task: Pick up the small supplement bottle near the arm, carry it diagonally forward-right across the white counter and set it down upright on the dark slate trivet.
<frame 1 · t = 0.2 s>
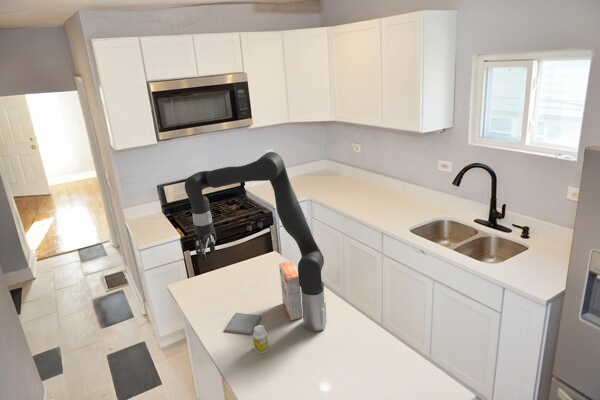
hand: (208, 256, 173), 29 cm above the table, fingers open, 8 cm apart
cracker box: (292, 311, 182), on the table
supplement bottle: (261, 349, 160), on the table
trivet: (243, 324, 175), on the table
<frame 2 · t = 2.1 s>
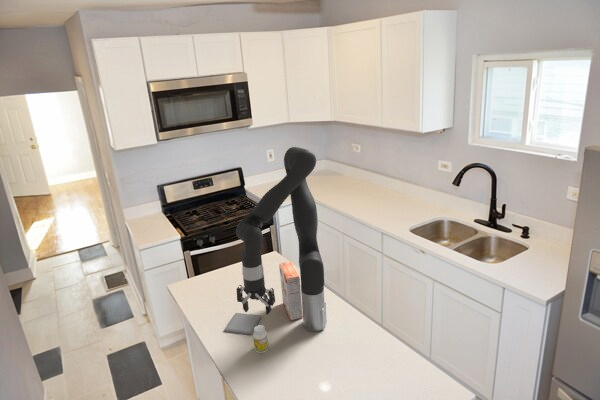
hand: (257, 312, 154), 17 cm above the table, fingers open, 8 cm apart
nothing on the table moved.
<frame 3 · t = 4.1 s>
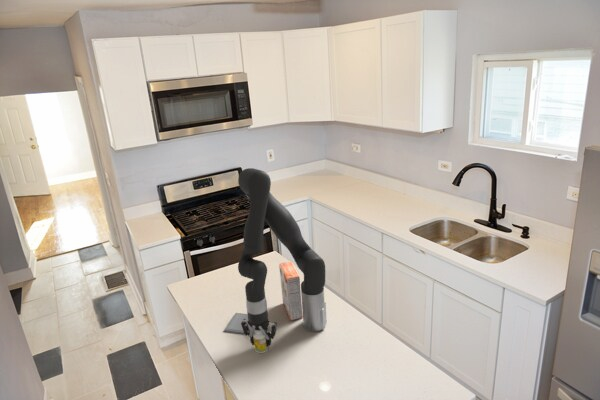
hand: (261, 344, 159), 2 cm above the table, fingers closed on supplement bottle, 5 cm apart
supplement bottle: (261, 349, 160), on the table, touching gripper
everything else where it was.
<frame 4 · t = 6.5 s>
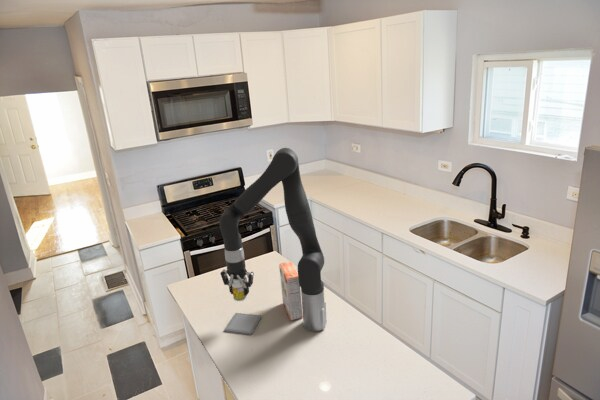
hand: (239, 293, 170), 15 cm above the table, fingers closed on supplement bottle, 5 cm apart
supplement bottle: (240, 298, 170), point 13 cm above the table, touching gripper
everything else where it was.
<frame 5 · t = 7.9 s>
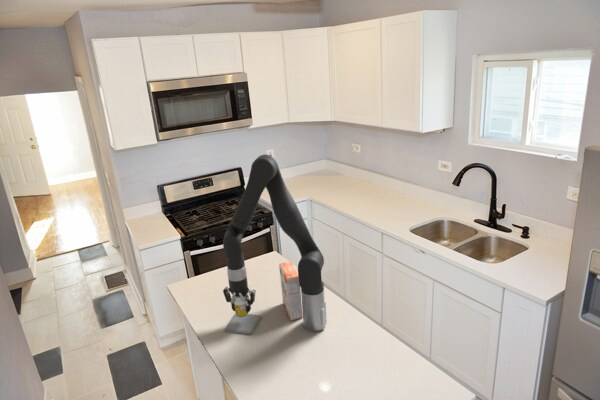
hand: (241, 310, 173), 7 cm above the table, fingers closed on supplement bottle, 5 cm apart
supplement bottle: (242, 315, 173), point 4 cm above the table, touching gripper
everything else where it was.
when the fingers open (4 cm above the table, at t = 9.0 s): supplement bottle stays where it is, resting on trivet.
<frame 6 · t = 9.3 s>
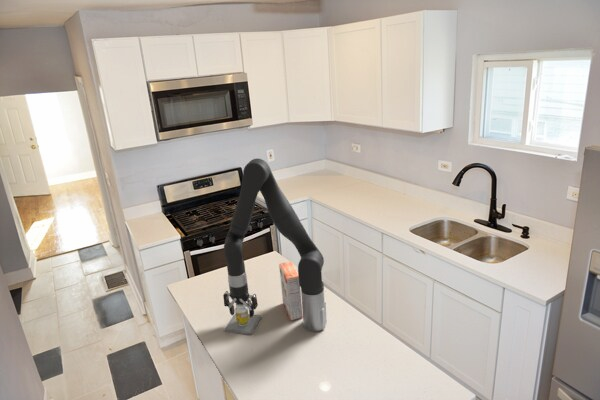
hand: (242, 315, 173), 5 cm above the table, fingers open, 8 cm apart
supplement bottle: (243, 322, 175), point 1 cm above the table, touching trivet
everything else where it was.
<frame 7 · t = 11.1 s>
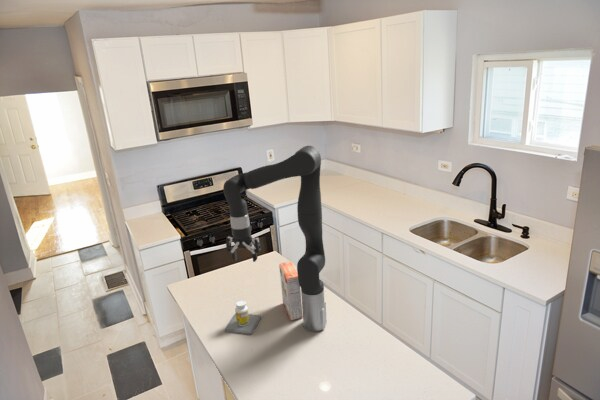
hand: (245, 260, 171), 27 cm above the table, fingers open, 8 cm apart
nothing on the table moved.
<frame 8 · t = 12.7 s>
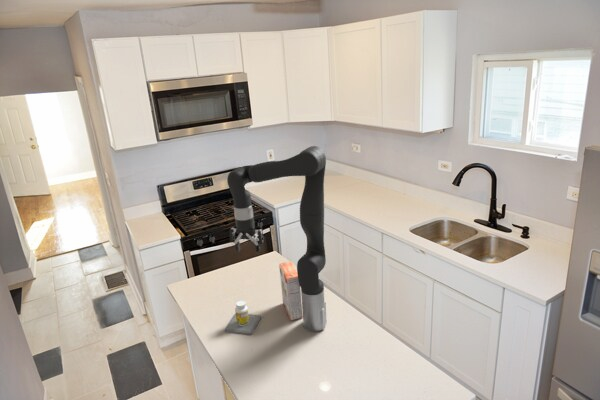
hand: (248, 251, 172), 30 cm above the table, fingers open, 8 cm apart
nothing on the table moved.
at the end: supplement bottle 0.1 cm from the trivet (horizontally); supplement bottle tilted 0°; the gripper is holding nothing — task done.
